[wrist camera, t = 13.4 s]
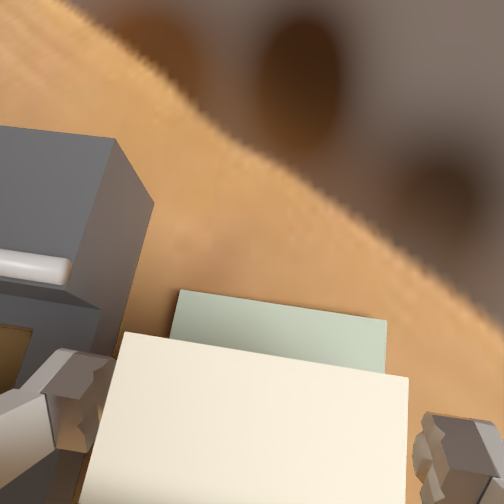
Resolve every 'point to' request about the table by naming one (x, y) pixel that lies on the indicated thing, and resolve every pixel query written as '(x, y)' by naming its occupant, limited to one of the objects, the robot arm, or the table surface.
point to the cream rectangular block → (245, 430)
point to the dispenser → (65, 263)
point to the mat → (281, 330)
